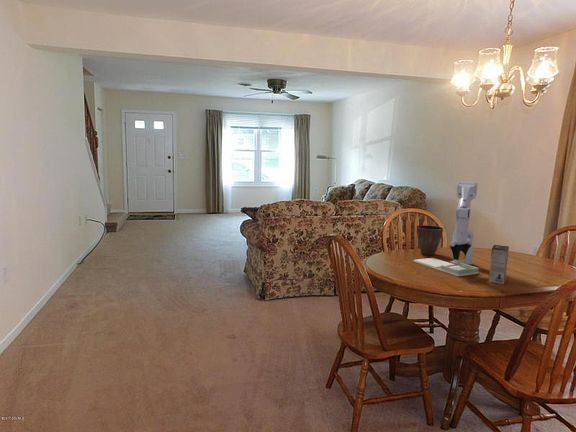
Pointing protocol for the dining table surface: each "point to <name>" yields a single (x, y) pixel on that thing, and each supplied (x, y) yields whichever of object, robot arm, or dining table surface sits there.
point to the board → (448, 267)
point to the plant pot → (429, 238)
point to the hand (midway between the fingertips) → (459, 258)
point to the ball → (461, 256)
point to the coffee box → (498, 264)
